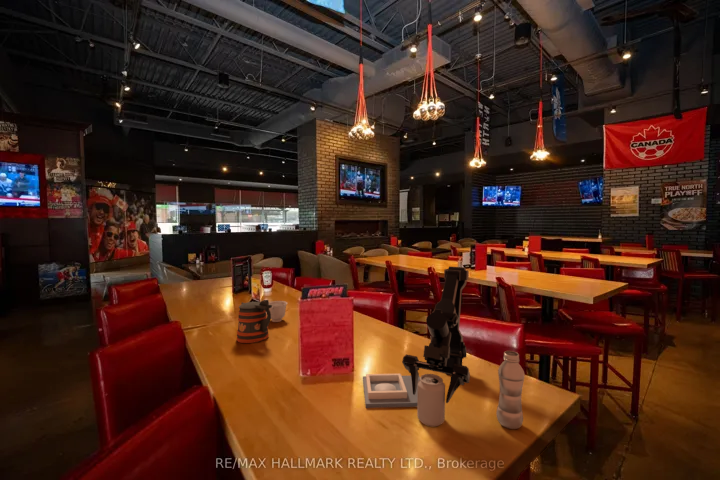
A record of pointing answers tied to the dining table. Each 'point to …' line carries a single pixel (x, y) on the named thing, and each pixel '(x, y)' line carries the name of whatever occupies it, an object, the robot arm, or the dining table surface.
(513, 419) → the plastic bottle
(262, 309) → the beer stein
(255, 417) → the dining table surface
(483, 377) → the dining table surface
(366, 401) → the base board
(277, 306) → the teacup
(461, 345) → the robot arm
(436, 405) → the can
